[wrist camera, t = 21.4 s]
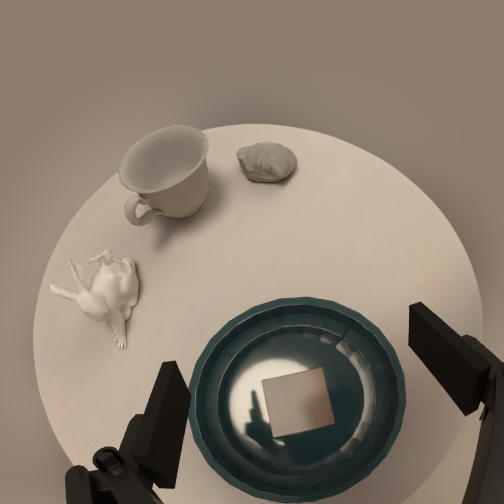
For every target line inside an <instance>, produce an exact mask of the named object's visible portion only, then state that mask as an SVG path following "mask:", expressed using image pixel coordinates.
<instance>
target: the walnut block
mask: <svg viewBox="0 0 504 504" xmlns="http://www.w3.org/2000/svg"><path fill="white" fill-rule="evenodd" d="M262 386H263V391H264V396H265V401H266V406H267V411H268V416H269V421H270V426H271V430H272V435H273V438H276V437H281V436H286V435H291V434H296V433H300V432H305V431H309V430H313V429H317V428H321V427H325V426H329V425H333V424H335V420H334V415H333V411H332V406H331V402H330V398H329V393H328V389H327V385H326V380H325V376H324V372H323V368H322V367H318V368H314V369H310V370H306V371H302V372H298V373H293V374H289V375H284V376H280V377H275V378H270V379H265V380H262Z"/></svg>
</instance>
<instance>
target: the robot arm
mask: <svg viewBox="0 0 504 504" xmlns="http://www.w3.org/2000/svg"><path fill="white" fill-rule="evenodd" d="M408 345H409V347H410V348H411V349H412V350H413V351H414V353H415V354H416V355H417V356H418V357H419V359H420V360H421V361H422V362H423V363H424V365H425V366H426V367H427V368H428V369H429V371H430V372H431V373H432V374H433V376H434V377H435V378H436V379H437V381H438V382H439V383H440V384H441V386H442V387H443V388H444V389H445V391H446V392H447V393H448V395H449V396H450V397H451V398H452V400H453V401H454V402H455V404H456V405H457V406H458V407H459V409H460V410H461V411H462V413H463V414H464V415H465V416H467V415H469V414H471V413H472V412H474V411H476V410H477V409H478V407H479V404H480V402H481V401H482V402H483V403H484V405H485V406H484V409H483V412H482V414H481V416H480V419H479V420H481V419H482V422H481V428H480V433H479V439H478V444H477V449H476V454H475V459H474V462H473V466H472V471H471V474H470V478H469V482H468V485H467V489H466V492H465V495H464V498H463V501H462V504H504V362H501V361H500V360H499V359H498V358H497V357H496V356H495V355H494V354H493V353H492V352H491V351H489V350H488V349H487V348H486V347H485V346H484V345H483V344H481V343H480V342H479V341H478V340H477V339H476V338H474V337H472V336H469V335H467V334H466V335H464V336H462V337H461V336H460V335H459V334H457V333H456V332H455V331H454V330H453V329H452V328H451V327H450V326H448V325H447V324H446V323H445V322H444V321H443V320H442V319H440V318H439V317H438V316H437V315H436V314H435V313H433V312H432V311H431V310H430V309H429V308H428V307H426V306H425V305H424V304H423V303H422V302H417V303H415V304H412V305H409V339H408ZM191 398H192V396H191V394H190V392H189V390H188V388H187V385H186V383H185V381H184V379H183V377H182V375H181V372H180V370H179V368H178V366H177V363H176V361H169V362H163V363H162V365H161V368H160V371H159V373H158V376H157V379H156V381H155V384H154V387H153V390H152V392H151V395H150V398H149V401H148V403H147V406H146V409H145V412H144V414H136V415H135V416H134V417H133V418H132V419H131V420H130V422H129V424H128V427H127V431H126V432H125V435H124V437H123V440H122V443H121V445H120V448H119V451H118V450H117V449H116V448H114V447H111V446H110V447H104V448H101V449H99V450H98V451H97V452H96V453H95V454H94V456H93V459H92V460H93V464H94V465H95V466H96V467H97V469H98V470H94V471H88V470H87V469H86V468H85V467H84V466H81V465H77V466H74V467H72V468H70V469H69V470H68V471H67V473H66V476H65V486H66V501H67V504H164V503H163V502H162V501H161V499H160V498H159V497H158V495H157V494H156V493H155V491H154V490H153V489H152V487H153V482H154V483H155V484H156V485H157V487H158V488H165V489H175V484H176V478H177V472H178V467H179V461H180V455H181V450H182V445H183V439H184V434H185V429H186V423H187V418H188V413H189V408H190V403H191Z"/></svg>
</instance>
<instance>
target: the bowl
mask: <svg viewBox="0 0 504 504" xmlns="http://www.w3.org/2000/svg"><path fill="white" fill-rule="evenodd" d="M318 367H322V368H323V372H324V376H325V380H326V385H327V389H328V393H329V398H330V402H331V406H332V411H333V415H334V420H335V424H333V425H329V426H325V427H321V428H317V429H313V430H309V431H305V432H300V433H296V434H291V435H286V436H281V437H276V438H273V435H272V430H271V426H270V421H269V416H268V411H267V406H266V401H265V396H264V391H263V386H262V380H265V379H270V378H275V377H280V376H284V375H289V374H293V373H298V372H302V371H306V370H310V369H314V368H318ZM403 375H404V374H403V371H402V368H401V365H400V363H399V360H398V357H397V355H396V352H395V351H394V348H393V347H392V346H391V344H390V343H389V341H388V340H387V339H386V337H385V336H384V335H383V333H382V332H381V330H380V329H379V328H378V327H376V326H375V325H374V324H373V323H371V322H370V321H369V320H368V319H366V318H365V317H364V316H363V315H361V314H360V313H359V312H357V311H354V310H352V309H350V308H347V307H345V306H343V305H341V304H338V303H336V302H334V301H329V300H323V299H317V298H312V297H297V298H282V299H277V300H273V301H270V302H267V303H264V304H261V305H257V306H254V307H252V308H251V309H249V310H247V311H245V312H244V313H242V314H240V315H239V316H237V317H235V318H234V319H232V320H230V321H229V322H228V323H227V324H226V325H225V326H224V327H223V328H222V329H221V330H220V331H219V332H218V333H217V334H216V335H214V336H213V337H212V338H211V339H210V341H209V342H208V344H207V346H206V347H205V349H204V351H203V352H202V354H201V356H200V357H199V359H198V360H197V362H196V364H195V368H194V371H193V374H192V378H191V381H190V384H189V389H188V390H189V392H190V394H191V396H192V398H191V403H190V408H189V413H188V418H189V422H190V426H191V430H192V433H193V437H194V441H195V443H196V444H197V446H198V448H199V450H200V451H201V453H202V455H203V456H204V458H205V460H206V461H207V463H208V464H209V466H210V467H211V468H212V469H214V470H215V471H216V472H217V473H218V474H219V475H220V476H221V477H222V478H223V479H224V480H225V481H226V482H228V483H229V484H230V485H232V486H234V487H236V488H238V489H240V490H241V491H243V492H245V493H247V494H249V495H251V496H253V497H256V498H261V499H265V500H270V501H275V502H280V503H301V502H313V501H318V500H321V499H324V498H328V497H331V496H334V495H337V494H340V493H342V492H344V491H346V490H347V489H349V488H351V487H352V486H354V485H355V484H357V483H358V482H360V481H362V480H363V479H365V478H366V477H367V476H369V475H370V474H371V472H372V471H373V470H374V469H375V468H376V467H377V466H378V465H379V464H380V463H381V462H382V461H383V459H384V458H385V457H386V456H387V455H388V453H389V451H390V449H391V447H392V446H393V444H394V442H395V440H396V438H397V436H398V434H399V432H400V429H401V426H402V421H403V416H404V411H405V406H406V392H405V380H404V376H403Z"/></svg>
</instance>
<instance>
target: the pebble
mask: <svg viewBox="0 0 504 504" xmlns="http://www.w3.org/2000/svg"><path fill="white" fill-rule="evenodd" d="M237 157H238V160H239V162H240V165H241V167H242V169H243V171H244V172H245V174H246V175H247V177H248V178H249V179H252V180H254V181H258V182H278V181H279V180H281V179H283V178H285V177H287V176H288V175H289V174H290V173H291V172H292V170H293V169H294V167H295V166H296V163H297V159H296V156H295V155H294V153H293V152H292V151H291V150H289V149H288V148H286V147H284V146H282V145H281V144H277V143H273V142H261V143H257V144H255V145H253V146H250V147H245V148H241V149H239V150H238V152H237Z"/></svg>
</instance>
